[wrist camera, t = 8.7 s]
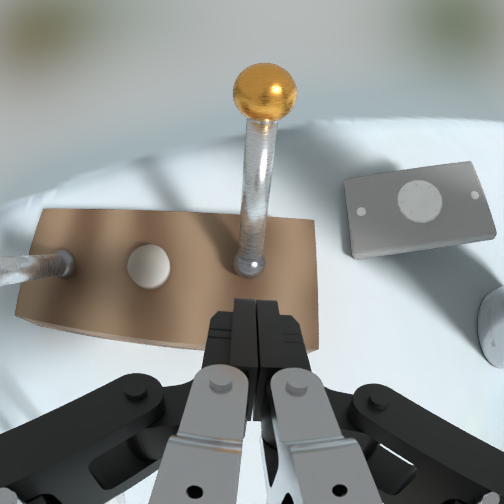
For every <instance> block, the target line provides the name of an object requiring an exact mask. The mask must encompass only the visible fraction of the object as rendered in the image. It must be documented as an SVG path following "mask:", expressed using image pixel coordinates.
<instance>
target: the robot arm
mask: <svg viewBox="0 0 504 504" xmlns="http://www.w3.org/2000/svg"><path fill="white" fill-rule="evenodd" d="M478 335H479V341H480V344H481V348H482V350H483V353H484V355H485V357H486V358H487V359H488V361H489V362H490V363H491V364H492V365H493V366H495V367H498V368H504V285H503V286H501V287H499V288H497V289H495V290H494V291H492V292H490V293H489V294H487V295H486V297H485V298H484V300H483V301H482V304H481V306H480V310H479V314H478ZM252 408H253V421H261V430H262V431H261V436H260V448H261V455H262V462H263V469H264V476H265V483H266V490H267V502H266V504H383V503H384V504H504V452H503V451H501V450H499V449H497V448H495V447H493V446H491V445H489V444H487V443H485V442H484V441H482V440H480V439H478V438H476V437H474V436H472V435H471V434H469V433H467V432H465V431H463V430H462V429H460V428H458V427H456V426H454V425H453V424H451V423H449V422H447V421H445V420H444V419H442V418H440V417H438V416H437V415H435V414H433V413H431V412H430V411H428V410H426V409H424V408H423V407H421V406H419V405H418V404H416V403H414V402H412V401H411V400H409V399H407V398H406V397H404V396H402V395H401V394H399V393H397V392H396V391H394V390H392V389H391V388H389V387H387V386H384V385H381V384H366V385H363V386H361V387H359V388H358V389H357V390H356V391H355V393H354V395H352V394H347V393H342V392H337V391H333V390H330V389H328V388H326V387H324V386H323V383H322V381H321V380H320V378H319V377H318V376H317V375H315V374H314V373H312V372H311V368H310V364H309V360H308V356H307V352H306V348H305V344H304V340H303V336H302V332H301V328H300V325H299V323H298V322H297V321H296V320H295V319H294V318H293V316H292V315H280V313H279V308H278V302H277V301H276V300H259V299H256V304H255V299H242V298H234V309H233V312H228V311H217V312H216V314H215V315H214V316H213V317H212V318H211V319H210V324H209V330H208V335H207V341H206V346H205V352H204V358H203V363H202V368H201V370H200V371H199V372H198V373H197V374H196V375H195V377H194V379H193V380H191V381H190V382H187V383H185V384H182V385H176V386H167V387H162V385H161V384H160V382H159V381H158V380H157V379H155V378H154V377H152V376H149V375H146V374H141V373H132V374H127V375H124V376H122V377H120V378H118V379H116V380H114V381H112V382H110V383H108V384H106V385H104V386H102V387H100V388H98V389H96V390H94V391H92V392H90V393H88V394H86V395H84V396H82V397H80V398H78V399H76V400H74V401H72V402H70V403H68V404H65V405H63V406H61V407H59V408H57V409H55V410H53V411H51V412H49V413H46V414H44V415H42V416H40V417H38V418H36V419H34V420H31V421H29V422H27V423H25V424H22V425H20V426H18V427H16V428H13V429H11V430H9V431H7V432H4V433H2V434H0V504H104V503H106V502H108V501H110V500H111V499H113V498H115V497H116V496H118V495H120V494H121V493H123V492H124V491H126V490H128V489H129V488H131V487H132V486H134V485H135V484H137V483H138V482H140V481H142V480H143V479H145V478H146V477H148V476H149V475H151V474H152V473H154V472H155V471H156V470H158V469H159V471H158V474H157V477H156V480H155V484H154V487H153V490H152V494H151V497H150V500H149V503H148V504H236V499H237V490H238V481H239V472H240V463H241V454H242V442H243V438H244V436H245V431H246V423H247V421H251V416H252ZM380 443H381V444H383V445H384V446H386V447H387V448H389V449H390V450H392V451H393V452H395V453H396V454H398V455H400V456H401V457H403V458H404V459H406V460H408V461H409V462H411V463H412V464H414V465H410V464H408V463H407V462H405V461H403V460H402V459H400V458H399V457H397V456H395V455H394V454H392V453H391V452H389V451H388V450H386V449H385V448H383V447H382V446H380Z"/></svg>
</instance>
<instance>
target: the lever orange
mask: <svg viewBox="0 0 504 504" xmlns="http://www.w3.org/2000/svg"><path fill="white" fill-rule="evenodd" d="M296 98H297V88H296V85H295V82H294V80H293V78H292V77H291V75H290V74H289V73H288V72H287V71H286V70H284V69H283V68H281V67H280V66H278V65H275V64H271V63H258V64H254V65H251V66H249V67H248V68H246V69H245V70H243V71H242V72H241V73H240V74H239V76H238V77H237V79H236V81H235V83H234V87H233V99H234V102H235V104H236V106H237V108H238V110H239V111H240V112H241V113H242V114H243V115H244V116H246V117H247V125H246V138H245V152H244V167H243V182H242V197H241V213H240V230H239V247H238V252H237V253H236V254H235V256H234V260H233V266H234V269H235V271H236V273H237V274H238V275H239V276H241V277H242V278H245V279H254V278H257V277H258V276H260V275H261V274H262V273H263V271H264V269H265V265H266V260H265V257H264V255H263V245H264V237H265V229H266V221H267V212H268V204H269V195H270V187H271V178H272V169H273V161H274V152H275V143H276V134H277V125H278V120H280V119H281V118H283V117H285V116H286V115H287V114H288V113H289V112H290V111H291V110H292V108H293V107H294V104H295V102H296Z"/></svg>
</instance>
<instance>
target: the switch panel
mask: <svg viewBox="0 0 504 504" xmlns="http://www.w3.org/2000/svg"><path fill="white" fill-rule="evenodd" d="M239 230H240V215H236V214H218V213H199V212H176V211H150V210H115V209H43V211H42V214H41V217H40V220H39V223H38V226H37V229H36V232H35V235H34V238H33V241H32V245H31V248H30V251H29V255H48V254H54V253H55V252H57V251H59V250H67V251H69V252H71V253H72V254H73V256H74V257H75V259H76V270H75V272H74V274H73V275H72V276H71V277H69V278H67V279H60V278H57V277H50V278H44V279H38V280H32V281H27V282H21V286H20V291H19V295H18V300H17V305H16V311H15V316H17V317H20V318H22V319H24V320H27V321H29V322H31V323H34V324H36V325H39V326H43V327H47V328H52V329H57V330H61V331H66V332H71V333H77V334H82V335H87V336H93V337H99V338H105V339H111V340H118V341H124V342H131V343H139V344H146V345H155V346H163V347H172V348H182V349H193V350H205V346H206V341H207V335H208V330H209V324H210V319H211V318H212V317H213V316H214V315H215V314H216V312H217V311H228V312H233V309H234V298H242V299H255V304H256V299H259V300H276V301H277V302H278V308H279V313H280V315H292V316H293V318H294V319H295V320H296V321H297V322H298V323H299V325H300V328H301V332H302V336H303V340H304V344H305V348H306V352H307V354H308V353H310V352H313V351H315V350H318V349H319V325H318V285H317V261H316V242H315V226H314V220H308V219H295V218H281V217H267V221H266V229H265V237H264V245H263V255H264V257H265V260H266V265H265V269H264V271H263V273H262V274H261V275H260V276H258V277H257V278H254V279H245V278H242V277H241V276H239V275H238V274H237V273H236V271H235V269H234V266H233V260H234V256H235V254H236V253H237V252H238V247H239Z"/></svg>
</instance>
